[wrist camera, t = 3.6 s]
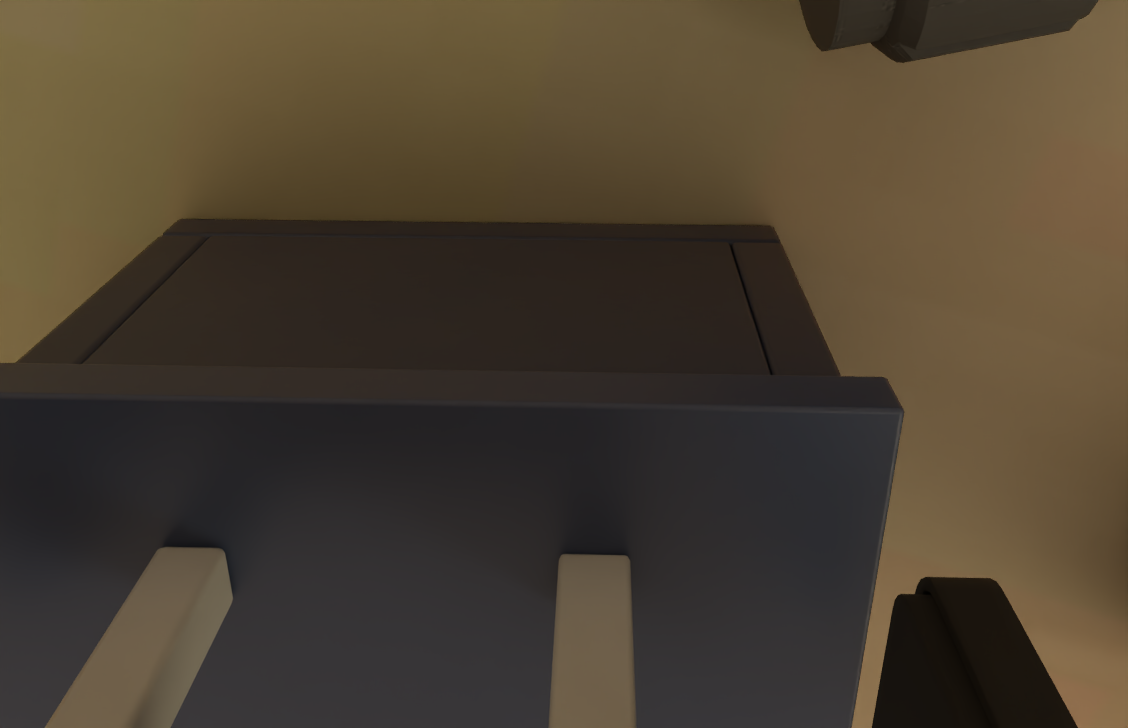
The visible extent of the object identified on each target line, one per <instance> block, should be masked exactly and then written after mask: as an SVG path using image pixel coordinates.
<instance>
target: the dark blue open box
mask: <svg viewBox="0 0 1128 728" xmlns="http://www.w3.org/2000/svg"><path fill="white" fill-rule="evenodd" d="M16 363H40V364H102V365H165V366H228V367H291V368H353V369H416V370H479V371H542V372H604V373H667V374H730V375H793V376H841V375H840V373H839V370H838V368H837V366H836V364H835V362H834V359H833V357H832V355H831V353H830V350H829V348H828V346H827V344H826V342H825V339H824V337H823V335H822V333H821V330H820V328H819V326H818V324H817V322H816V319H815V317H814V315H813V313H812V310H811V308H810V306H809V304H808V302H807V299H806V297H805V295H804V293H803V291H802V288H801V286H800V284H799V282H798V279H797V277H796V275H795V273H794V271H793V268H792V266H791V264H790V262H789V259H788V257H787V255H786V253H785V251H784V248H783V246H782V245H781V243H780V240H779V238H778V235H777V233H776V231H775V229H774V227H771V226H735V225H650V224H564V223H479V222H393V221H308V220H223V219H180V220H178V221H177V222H175V223H174V224H173V225H172V226H171V227H170V228H169V229H167V230H166V231H165V232H164V233H163V236H160V237H158V238H157V239H156V240H155V241H154V242H153V243H151V244H150V245H149V246H148V247H147V248H146V249H145V250H143V251H142V252H141V253H140V254H139V255H138V256H137V257H135V258H134V259H133V260H132V261H131V262H130V263H129V264H128V265H126V266H125V267H124V268H123V269H122V270H121V271H120V272H118V273H117V274H116V275H115V276H114V277H113V278H112V279H110V280H109V281H108V282H107V283H106V284H105V285H104V286H102V287H101V288H100V289H99V290H98V291H97V292H96V293H94V294H93V295H92V296H91V297H90V298H89V299H88V300H86V301H85V302H84V303H83V304H82V305H81V306H80V307H78V308H77V309H76V310H75V311H74V312H73V313H72V314H71V315H69V316H68V317H67V318H66V319H65V320H64V321H63V322H61V323H60V324H59V325H58V326H57V327H56V328H55V329H53V330H52V331H51V332H50V333H49V334H48V335H47V336H45V337H44V338H43V339H42V340H41V341H40V342H39V343H37V344H36V345H35V346H34V347H33V348H32V349H31V350H29V351H28V352H27V353H26V354H25V355H24V356H23V357H21V358H20V359H19V360H18V361H17V362H16Z"/></svg>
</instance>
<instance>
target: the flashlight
mask: <svg viewBox="0 0 1128 728" xmlns="http://www.w3.org/2000/svg"><path fill="white" fill-rule="evenodd" d="M799 2H800V6H801V10H802V13H803V16H804V20H805V23H806V26H807V29H808V31H809V33H810V35H811V38H812V39H813V41H814V43H815V44H816V46H817V47H818V48H819V49H820V50H821V51H828V50H833V49H839V48H844V47H849V46H855V45H860V44H865V43H871V44H872V45H873V46H874V47H876V48H877V49H878V50H879V51H881V52H882V53H883V54H885V55H886V56H887V57H889V58H890V59H892V60H894V61H896V62H901V63H904V62H910V61H915V60H920V59H925V58H930V57H935V56H941V55H946V54H951V53H956V52H961V51H966V50H972V49H977V48H982V47H987V46H992V45H997V44H1003V43H1008V42H1013V41H1018V40H1023V39H1028V38H1034V37H1039V36H1044V35H1049V34H1054V33H1059V32H1064V31H1069V30H1070V29H1071V28H1072V27H1073V25H1074V24H1075V23H1076V22H1077V21H1078V19H1082V18H1084V17H1085V16H1087V15H1088V14H1089V13H1090V12H1091V10H1092V9H1093V8H1094V6H1095V5H1096V3H1097V2H1098V0H799Z"/></svg>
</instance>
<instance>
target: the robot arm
mask: <svg viewBox="0 0 1128 728" xmlns="http://www.w3.org/2000/svg"><path fill="white" fill-rule="evenodd" d="M872 728H1078V727H1077V725H1076V723H1075V722H1074V720H1073V718H1072V716H1071V714H1070V712H1069V711H1068V709H1067V707H1066V705H1065V703H1064V701H1063V700H1062V698H1061V696H1060V694H1059V692H1058V690H1057V689H1056V687H1055V685H1054V683H1053V681H1052V679H1051V678H1050V676H1049V674H1048V672H1047V670H1046V669H1045V667H1044V665H1043V663H1042V661H1041V659H1040V658H1039V656H1038V654H1037V652H1036V650H1035V648H1034V647H1033V645H1032V643H1031V641H1030V639H1029V637H1028V636H1027V634H1026V632H1025V630H1024V628H1023V626H1022V625H1021V623H1020V621H1019V619H1018V617H1017V615H1016V614H1015V612H1014V610H1013V608H1012V606H1011V604H1010V603H1009V601H1008V599H1007V597H1006V595H1005V594H1004V592H1003V590H1002V588H1001V587H1000V586H999V584H998V583H997V582H996V581H994V580H992V579H990V578H947V577H925V578H923V579H921V580H920V582H919V584H918V585H917V588H916V592H915V594H900V595H898V596H897V598H896V599H895V602H894V606H893V611H892V616H891V622H890V628H889V633H888V639H887V645H886V650H885V656H884V662H883V667H882V673H881V679H880V684H879V690H878V696H877V701H876V707H875V713H874V718H873V724H872Z"/></svg>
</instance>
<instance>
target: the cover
mask: <svg viewBox="0 0 1128 728" xmlns="http://www.w3.org/2000/svg"><path fill="white" fill-rule="evenodd" d="M903 416H904V410H903V407H902V406H901V404H900V402H899V400H898V398H897V396H896V394H895V393H894V391H893V389H892V387H891V385H890V383H889V381H888V379H886V378H884V377H855V376H793V375H730V374H667V373H604V372H542V371H479V370H416V369H353V368H291V367H228V366H165V365H102V364H40V363H0V728H851V727H852V721H853V715H854V709H855V703H856V697H857V691H858V685H859V679H860V673H861V667H862V662H863V656H864V650H865V644H866V638H867V632H868V626H869V620H870V614H871V608H872V602H873V596H874V590H875V584H876V578H877V572H878V566H879V560H880V554H881V548H882V542H883V536H884V530H885V524H886V518H887V512H888V506H889V500H890V494H891V488H892V482H893V476H894V470H895V464H896V458H897V452H898V446H899V440H900V434H901V428H902V422H903Z"/></svg>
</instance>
